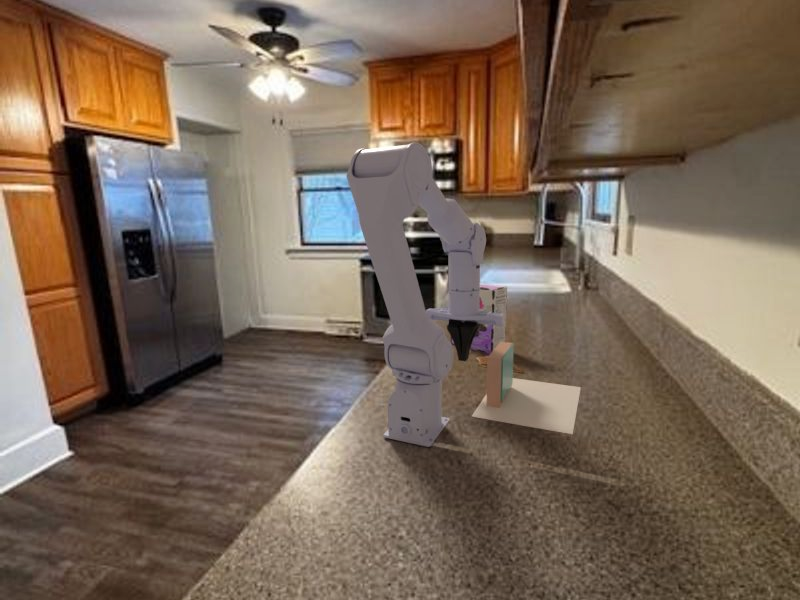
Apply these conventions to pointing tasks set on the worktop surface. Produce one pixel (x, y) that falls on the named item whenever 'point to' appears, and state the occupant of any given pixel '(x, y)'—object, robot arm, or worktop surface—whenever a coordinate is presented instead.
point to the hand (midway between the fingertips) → (463, 359)
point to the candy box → (495, 302)
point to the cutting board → (535, 406)
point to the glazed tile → (499, 373)
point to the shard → (483, 363)
